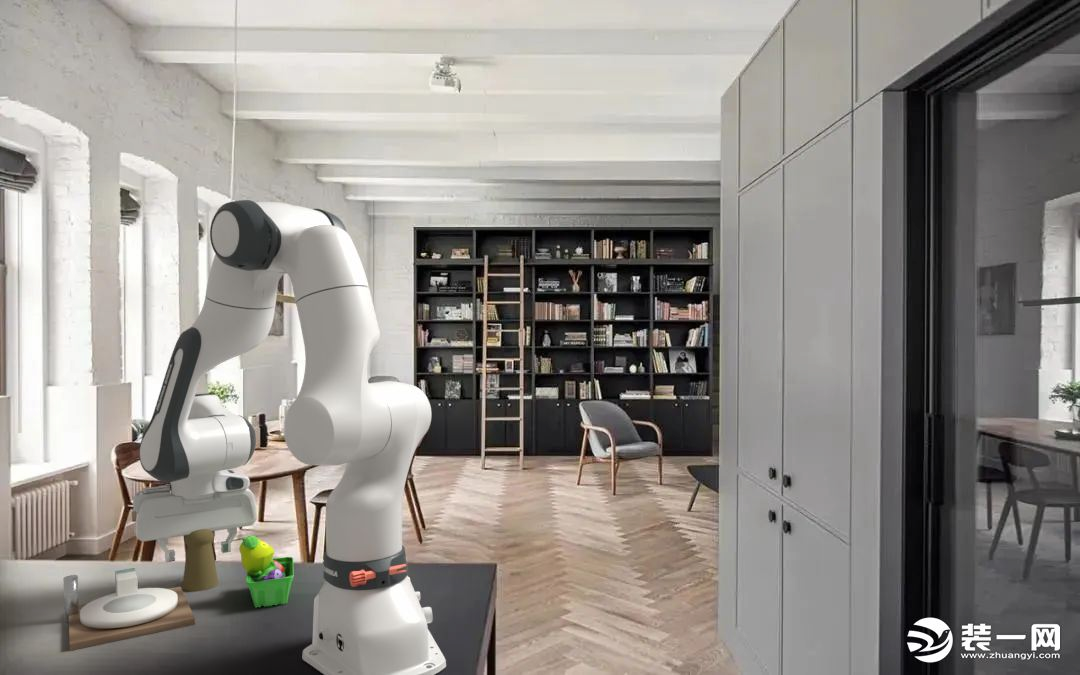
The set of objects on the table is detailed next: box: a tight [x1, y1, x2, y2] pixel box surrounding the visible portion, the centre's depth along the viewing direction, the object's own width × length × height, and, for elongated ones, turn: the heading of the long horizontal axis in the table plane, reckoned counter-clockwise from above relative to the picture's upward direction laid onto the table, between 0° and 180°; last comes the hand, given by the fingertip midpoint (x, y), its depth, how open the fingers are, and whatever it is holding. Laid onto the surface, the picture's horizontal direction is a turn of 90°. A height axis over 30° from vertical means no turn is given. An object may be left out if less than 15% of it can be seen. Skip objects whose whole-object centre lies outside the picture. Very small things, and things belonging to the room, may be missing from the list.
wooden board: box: [68, 585, 196, 652], centre depth 123 cm, size 17×17×1 cm
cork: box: [181, 529, 219, 593], centre depth 137 cm, size 6×6×11 cm
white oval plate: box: [80, 567, 178, 628], centre depth 124 cm, size 18×14×4 cm
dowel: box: [62, 574, 80, 623], centre depth 122 cm, size 2×2×7 cm
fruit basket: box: [239, 535, 295, 609], centre depth 131 cm, size 11×9×11 cm
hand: (198, 556), depth 137 cm, fingers open, 8 cm apart
